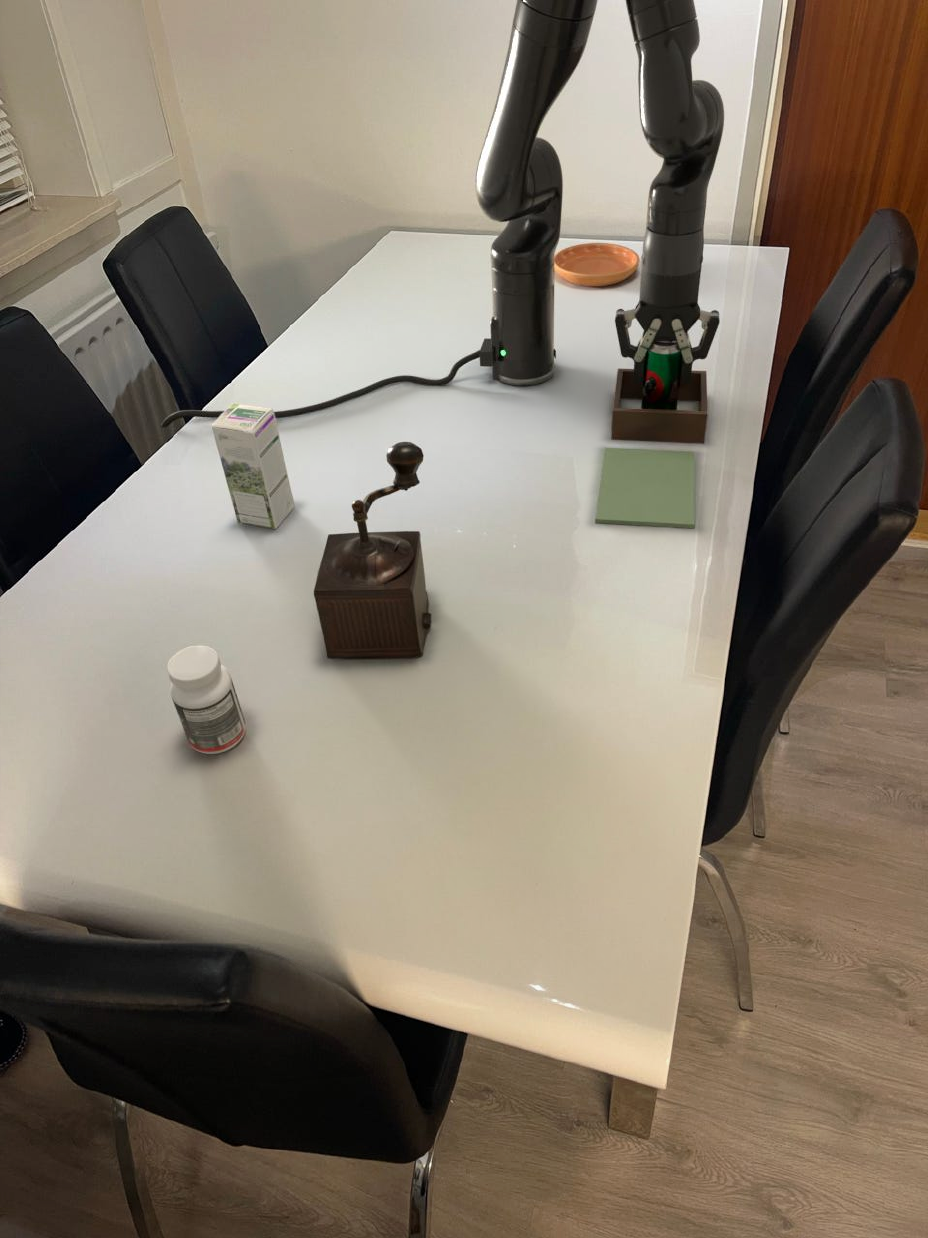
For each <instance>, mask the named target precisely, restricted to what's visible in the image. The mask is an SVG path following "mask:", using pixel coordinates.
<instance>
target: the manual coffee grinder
mask: <svg viewBox="0 0 928 1238" xmlns="http://www.w3.org/2000/svg"><path fill="white" fill-rule="evenodd" d="M385 456H386V463H388V465H389V466H390V467H391V468H392V470H393V471H394V473H395V475H394V479H393V481H392V485H389V486H386V487H382V488H379V489H376V490H374V491H371V492H370V493H368V494H367V495H366V496H365V497H364V498H363V500H361V499H356V500H354V501H353V502H352V504H351V509H352V512H353V513H352V517H353V521H354V523H356V524H357V531H358V532H345V533H344V532H343V533H330V534H327V538H326V543H325V547H324V550H323V553H322V557H321V561H320V562H319V563H320V564H319V568H318V570H317V575H316V581H315V584H314V589H313V596H314V600H315V605H316V606H315V607H316V609H317V614H318V619H319V624H320V628H321V632H322V638H323V641H324V647H325V653H326V657H327V659H332V660H333V659H335V660H391V659H392V660H393V659H395V660H397V659H415V658H420V657H422V656H423V653H424V651H425V650H424V649H425V645H426V639H427V635H428V631H429V629H430V628H431V625H432V614H433V613H430V612H429V606H430V601H429V594H428V591H427V588H426V574H425V566H424V556H423V550H422V541H421V532H420V531H419V530H398V531H397V530H396V531H368V526H367V520H368V519H369V518H368V513H369V510H370V508H371V506H372V505H373V503H374V502H375V501H377V500H378V499H381V498H383V497H386V496H390V495H393V494H394V493H396V492H398V491H405V492H407V491H408V490H410V489H412V488H414V487H416V486H417V485H419V484H420V479H419V477H418V474H417V472H418V470H419V467H420V466H421V464H422V463H423V462H424V452H423V450H422V448H421V447H420V446H418V445H417V444H416V443H413V442H412V441H400V442H397V443H395V444H394V445H392V446H390V447H388V450H387V452H386V455H385Z"/></svg>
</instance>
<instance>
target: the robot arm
mask: <svg viewBox="0 0 928 1238" xmlns="http://www.w3.org/2000/svg"><path fill="white" fill-rule="evenodd" d="M597 5H598V0H516V4H515V8H514V14H513V18H512V25H511V31H510V37H509V43H508V48H507V53H506V57H505V61H504V65H503V69H502V73H501V78H500V83H499V87H498V92H497V96H496V101H495V105H494V109H493V112H492V115H491V119H490V122H489V124H488V127H487V132H486V134H485V138H484V142H483V145H482V147H481V151H480V154H479V158H478V161H477V165H476V172H475V180H474V181H475V184H474V187H475V195H476V199H477V203H478V205H479V207H480V208H479V209H481V211H482V213H483V214H484V215H485V216H486V217H487V218H488V219H490V220H491V221H493V222H496V223H506V222H507V224H506V226H505V228H504V229H503V230H502V231H501V232H500V234H499V235H498V236H497V237H496V238H495V239H494V240H493V242H492V243H491V245H490V246H491V247H490V274H491V275H490V276H491V277H490V278H491V295H492V296H491V301H492V316H491V319H490V321H489V322H490V324H489V325H490V327H489V328H490V338H487V337H486V338H484V339H483V341H482V344H481V347H480V349H478V350H477V351H475V352H472V353H470V354H468V355H466V356H464V357H462V358H461V359H459V360H457V362H455V363H454V365H453V366H452V367H451V370H450V371H449V373H448V374H447V376H445V377H443V378H439V379H429V378H424V377H420V376H416V375H409V374H408V375H403V374H402V375H396V376H392V377H388V378H383V379H382V380H379V381H376V382H374V383H372V384H369V385H367V386H365V387H362V388H360V389H356V390H353V391H351V392H348V393H345V394H343V395H340V396H337V397H334V398H332V399H329V400H326V401H323V402H319V403H316V404H312V405H308V406H302V407H298V408H293V409H286V410H277V411H274V414H275V418H276V419H282V418H283V419H284V418H291V417H296V416H297V417H298V416H301V415H306V414H311V413H315V412H319V411H322V410H326V409H330V408H332V407H335V406H338V405H340V404H343V403H345V402H346V403H347V402H349V401H351V400H353V399H357V398H360V397H362V396H364V395H367V394H369V393H371V392H374V391H376V390H378V389H381V388H384V387H386V386H389V385H393V384H399V383H414V384H419V385H424V386H432V387H433V386H435V387H441V386H444V385H446V384H449V383H451V382H452V381H453V380H454V379H455V378H456V375H457V373H458V371H459V370H460V369H461V368H462V367H463V366H464V365H466V364H468V363H470V362H472V361H474V360H476V359H479V367H485V368H486V367H487V368H490V367H491V370H492V372H491V373H492V375H491V376H492V380H493V381H500V382H502V383H505V384H507V385H513V386H533V385H538V384H541V383H544V382H546V381H548V380H549V379H551V378H552V377H553V376H554V374H555V359H557V351H556V349H555V269H554V256H555V255H556V250H557V247H558V245H559V242H560V237H561V227H562V213H563V211H562V209H563V193H564V192H563V190H564V184H563V183H564V181H563V180H564V179H563V170H562V165H561V161H560V160H561V159H560V158H559V155H558V153H557V151H556V149H555V147H554V146H553V145H552V144H551V143H550V142H549V141H548V140H546V139H544V138H542V137H539V136H538V134H539V131H540V129H541V126H542V124H543V122H544V120H545V118H546V116H547V115H548V113H549V111H550V110H551V108H552V107H553V105H554V104H555V102H556V100H557V99H558V98H559V96H560V95H561V93H562V92H563V90H564V88H566V85H568V83H569V81H570V80H571V78H572V76H573V74H574V72H575V71H576V69H577V67H578V66H579V64H580V62H581V59H582V57H583V55H584V52H585V50H586V46H587V43H588V39H589V36H590V33H591V29H592V25H593V21H594V18H595V14H596V10H597ZM625 7H626V11H627V16H628V20H629V24H630V29H631V33H632V37H633V38H632V39H633V43H634V47H635V49H636V53H637V61H638V71H637V75H638V76H637V80H638V81H637V82H638V83H637V84H638V109H639V118H640V120H639V121H640V126H641V131H642V133H643V136H644V139H645V141H646V143H647V145H648V146H649V148H650V150H651V151H652V152H653V153H654V154H655V155H656V156H658V157H659V158H661V159H663V161H662V165H661V168H660V170H659V171H658V173H656V176H655V177H654V178H653V179H652V181H651V183H650V186H649V190H648V197H647V212H646V224H645V225H646V226H645V234H644V238H643V243H642V254H641V259H640V261H641V270H640V284H639V299H638V302H637V305H636V306H635V308H633V309H627V310H624V309H623V308H618V309H617V310H616V311H615V316H614V323H615V328H616V334H617V339H618V345H619V351H620V356H621V357H622V358H624V359H627V358H630V359H631V360H632V361H633V363H634V364H633V369H634V374H633V380H634V382H638V386H642V387H643V376H644V363H645V354H646V352H647V350H648V349H649V347H650V345H651V343H652V341H660V340H664V339H666V340H669V341H677V342H678V345H679V348H680V350H681V353H682V356H683V359H682V367H681V377H680V388H685V384H689V382H690V381H691V372H692V371H693V363H694V362H695V361H697V360H705V359H707V357H708V355H709V352H710V350H711V347H712V344H713V341H714V338H715V336H716V334H717V331H718V328H719V325H720V312H719V311H718V310H716V309H714V310H712V311H707V310H702V309H701V307H700V305H699V302H698V301H699V294H700V286H701V285H700V284H701V275H702V265H703V262H704V248H705V247H704V246H705V236H704V234H705V233H704V229H705V221H706V220H705V218H706V208H707V200H708V199H707V197H708V187H709V185H710V181H711V177H712V174H713V172H714V169H715V165H716V161H717V157H718V154H719V150H720V146H721V142H722V138H723V133H724V127H725V107H724V102H723V98H722V95H721V93H720V92H719V90H718V89H717V87H716V86H715V85H714V84H712V83H710V82H709V81H706V80H703V79H695V80H694V79H693V66H692V59H693V56H694V54H695V53H696V51H697V50H698V48H699V45H700V41H701V37H700V36H701V35H700V27H699V21H698V14H697V11H696V5H695V0H625ZM634 319H636V321H637V323H638V324H639V325H640V327H641V329H642V330H643V331H642V332H641V335H640V338H639V340H638V342H637V344H636V345H633V344H632V343H631V338H630V334H629V333H630V332H629V328H631V326H632V323H633V320H634ZM698 320H699V321H700V323H701V325H700V326H701V329H702V330H703V332H702V335H701V337H700V340H699V342H698V345H697V346H692V343H691V340H690V339H691V338H690V334H689V330H691V328H692V327H693V326H694V325H696V323H697V322H698ZM224 411H225V410H200V409H199V410H198V409H185V410H184V409H183V410H178V411H176V412H173V413H171V414H169V415H168V416H167V417H165V419H164V420H163V421H162V423H161V425H160V428H167V427H169V426H170V425H171V424H172V423H173V422H174V421H177V420H178V419H179V420H180V419H183V418H208V419H210V418H211V419H214V418H215V419H218V417H219V416H220V415H221V414H222V413H223V412H224Z"/></svg>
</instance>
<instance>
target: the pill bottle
mask: <svg viewBox="0 0 928 1238" xmlns="http://www.w3.org/2000/svg"><path fill="white" fill-rule="evenodd" d="M166 667H167V668H166V669H167V674H168V677H169V681H170V682H171V683H170V689H169V691H170V692H169V693H170V696H171V699H172V703H173V705H174V708H175V710H176V713H177V715H178V718H179V721H180V723H181V726H182V729H183V731H184V734H185V736H186V737H185V738H186V740H187V742H188V743H189V745H190V746H191V747H192V748H193V749H194V750H195V751H197V752H198V753H201V754H206V755H207V754H208V755H216V754H221V753H224V752H227V751H229V750H231V749H232V748H234V747H235V746H237V745H238V744H239V743H240V741H241V740H242V739H243V737H244V735H245V733H246V727H247V725H246V719H245V715H244V714H243V711H242V707H241V704H240V700H239V697H238V695H237V691H236V688H235V685H234V682H233V678H232V676H231V674H230V671H229V670H228V669H227V668H226V667H225V666H224V665H222V663H221V660H220V657H219V654H218V653H217V651H216V650H215V649H213V648H211V646H206V645H192V646H188V647H185V648H183V649H180V650H179V651H178V652H176V653H175V654H173V656H172V657H170V659H169V661H168V663H167V666H166Z"/></svg>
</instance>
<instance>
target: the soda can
mask: <svg viewBox="0 0 928 1238" xmlns="http://www.w3.org/2000/svg"><path fill="white" fill-rule="evenodd" d="M682 359H683V356H682V353H681V350H680V348H679V345H678V342H677V341H669V340H666V339H664V340H660V341H652V343H651V345H650V347H649V349H648V350H647V352H646V354H645V363H644V376H643V388H642V400H641V403H640V409H659V410H678V408H679V407H678V406H679V401H678V398H679V388H680V377H681V367H682Z"/></svg>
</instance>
